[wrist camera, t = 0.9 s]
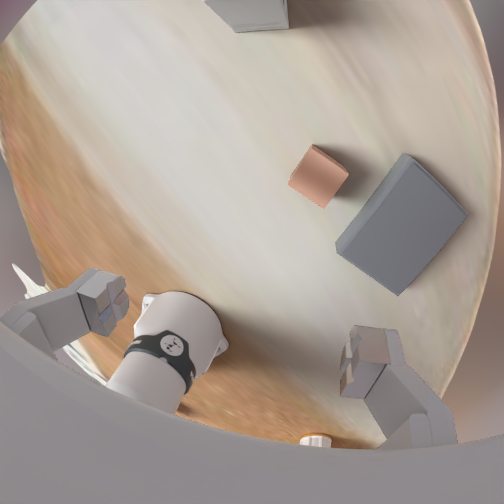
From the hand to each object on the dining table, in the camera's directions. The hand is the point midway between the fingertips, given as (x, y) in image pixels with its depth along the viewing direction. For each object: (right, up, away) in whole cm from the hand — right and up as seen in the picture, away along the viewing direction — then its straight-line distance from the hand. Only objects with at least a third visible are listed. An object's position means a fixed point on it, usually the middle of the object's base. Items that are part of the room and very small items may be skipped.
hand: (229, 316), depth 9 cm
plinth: (+22, +6, +27) cm, 35 cm away
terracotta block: (+9, +13, +26) cm, 31 cm away
